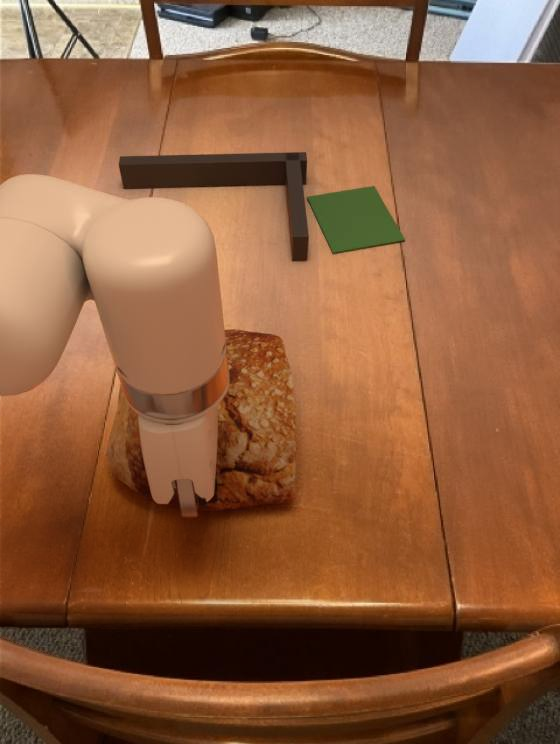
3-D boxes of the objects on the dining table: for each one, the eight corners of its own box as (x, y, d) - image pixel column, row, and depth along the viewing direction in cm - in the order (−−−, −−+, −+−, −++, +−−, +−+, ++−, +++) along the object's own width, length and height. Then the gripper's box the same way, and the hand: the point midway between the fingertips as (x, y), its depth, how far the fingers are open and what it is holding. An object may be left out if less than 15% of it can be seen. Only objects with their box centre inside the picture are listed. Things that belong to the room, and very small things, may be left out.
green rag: (332, 254, 88) (332, 252, 88) (306, 198, 95) (306, 196, 95) (404, 241, 90) (405, 239, 89) (374, 187, 97) (374, 185, 97)
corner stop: (111, 266, 86) (105, 242, 83) (124, 180, 98) (119, 156, 94) (315, 260, 87) (316, 236, 84) (305, 176, 98) (306, 151, 95)
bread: (297, 515, 65) (300, 461, 57) (105, 521, 64) (82, 467, 57) (287, 352, 78) (289, 289, 70) (127, 355, 77) (111, 293, 69)
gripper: (130, 292, 51) (164, 428, 66) (106, 463, 42) (151, 577, 57) (229, 289, 52) (241, 425, 66) (227, 459, 42) (242, 573, 57)
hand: (200, 495), depth 61 cm, fingers closed
